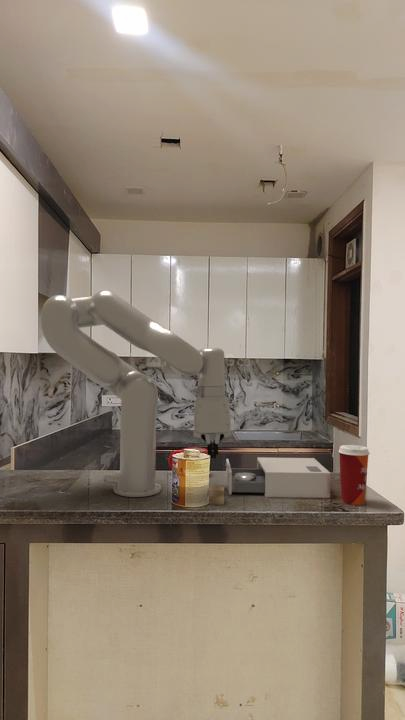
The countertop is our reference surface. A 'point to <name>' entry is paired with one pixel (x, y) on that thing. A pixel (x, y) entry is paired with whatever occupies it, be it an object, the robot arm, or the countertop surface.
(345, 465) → the paper cup
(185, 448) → the mug
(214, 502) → the brown wooden cube
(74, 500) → the countertop surface
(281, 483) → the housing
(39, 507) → the countertop surface
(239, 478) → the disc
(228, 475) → the drawer
